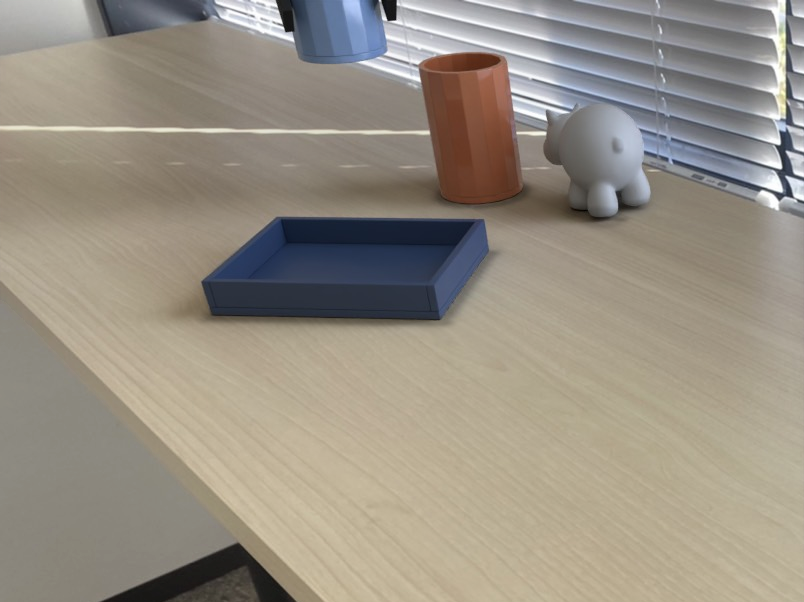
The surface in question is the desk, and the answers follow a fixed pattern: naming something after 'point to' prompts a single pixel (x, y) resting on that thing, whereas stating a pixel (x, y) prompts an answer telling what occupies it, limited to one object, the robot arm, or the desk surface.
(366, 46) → the blue cup
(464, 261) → the blue tray
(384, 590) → the desk surface
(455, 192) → the clay cup
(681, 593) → the desk surface
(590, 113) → the round bodied animal figurine
